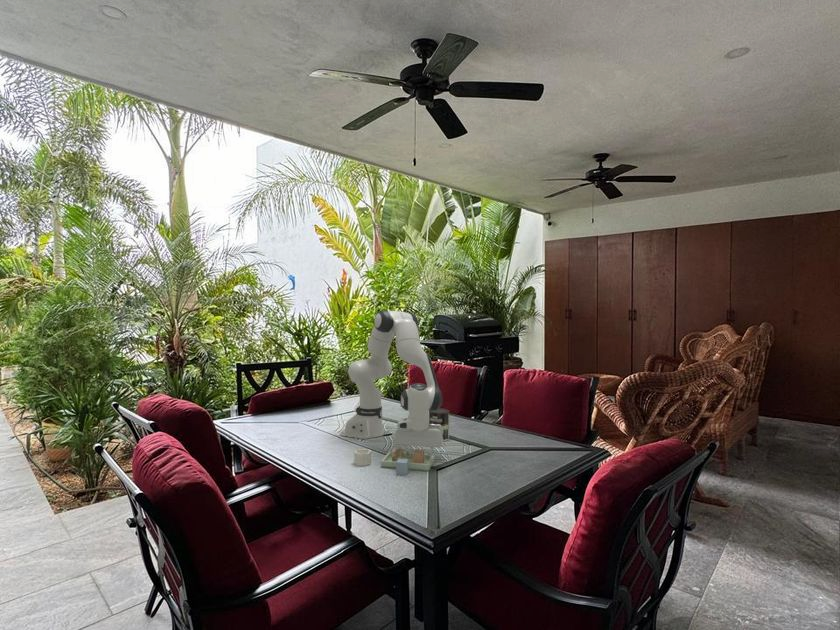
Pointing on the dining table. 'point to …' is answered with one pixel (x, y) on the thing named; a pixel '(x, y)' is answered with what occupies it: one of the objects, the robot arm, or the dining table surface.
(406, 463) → the blue block
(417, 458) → the terracotta block
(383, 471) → the dining table surface
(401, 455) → the birch block
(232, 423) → the dining table surface
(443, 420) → the coffee can
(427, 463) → the tray
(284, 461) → the dining table surface
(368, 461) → the cup
